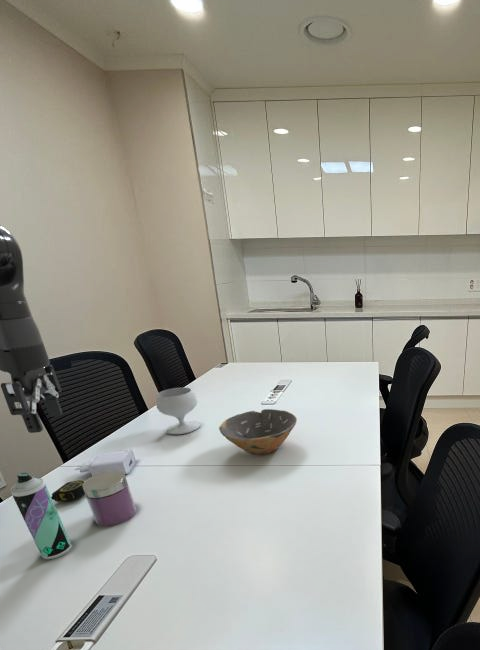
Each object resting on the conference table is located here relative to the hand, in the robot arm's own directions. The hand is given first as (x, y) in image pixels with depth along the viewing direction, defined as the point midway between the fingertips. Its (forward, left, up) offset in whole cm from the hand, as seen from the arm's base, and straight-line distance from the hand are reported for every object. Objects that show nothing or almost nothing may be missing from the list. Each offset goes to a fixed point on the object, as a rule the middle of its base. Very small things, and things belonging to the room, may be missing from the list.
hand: (46, 423), depth 78 cm
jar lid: (+2, +10, -20) cm, 22 cm away
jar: (+2, +10, -30) cm, 32 cm away
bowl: (+39, +38, -30) cm, 62 cm away
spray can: (-7, -1, -30) cm, 31 cm away
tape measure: (-13, +23, -30) cm, 40 cm away
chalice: (+9, +66, -30) cm, 73 cm away
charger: (-9, +37, -30) cm, 49 cm away
